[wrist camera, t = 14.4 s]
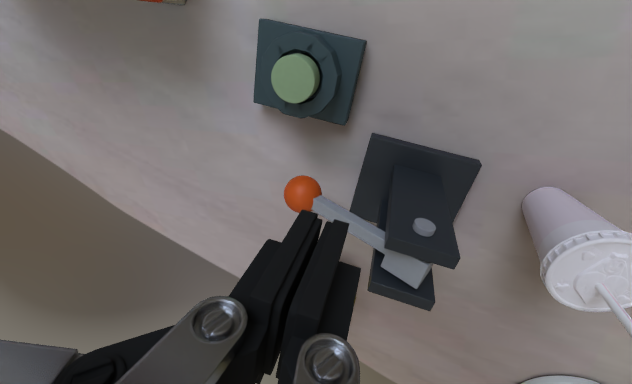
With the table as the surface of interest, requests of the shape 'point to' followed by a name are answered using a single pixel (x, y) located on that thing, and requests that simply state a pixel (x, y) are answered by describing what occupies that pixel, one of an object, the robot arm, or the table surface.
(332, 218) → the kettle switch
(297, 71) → the green round button
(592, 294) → the smoothie
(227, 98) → the table surface
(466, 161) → the switch bracket
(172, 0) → the stack of blocks
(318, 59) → the dark piece
